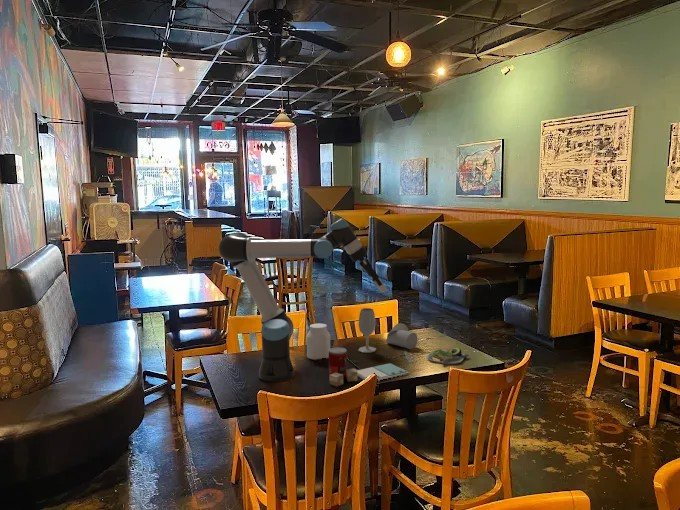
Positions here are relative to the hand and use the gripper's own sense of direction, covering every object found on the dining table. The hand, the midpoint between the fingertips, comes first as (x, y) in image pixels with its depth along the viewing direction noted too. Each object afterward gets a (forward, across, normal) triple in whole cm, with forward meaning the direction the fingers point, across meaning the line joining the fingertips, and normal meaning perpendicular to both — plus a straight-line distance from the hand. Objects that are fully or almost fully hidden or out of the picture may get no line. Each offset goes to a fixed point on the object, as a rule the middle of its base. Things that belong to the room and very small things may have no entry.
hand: (382, 289), depth 228 cm
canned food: (+18, -10, +37) cm, 42 cm away
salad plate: (+46, +7, -6) cm, 47 cm away
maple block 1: (+17, -20, +39) cm, 47 cm away
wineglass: (+26, +22, +23) cm, 41 cm away
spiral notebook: (+28, -10, +22) cm, 37 cm away
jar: (+12, +17, +43) cm, 48 cm away
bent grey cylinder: (+36, +33, +6) cm, 49 cm away
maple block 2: (+21, -16, +33) cm, 42 cm away
